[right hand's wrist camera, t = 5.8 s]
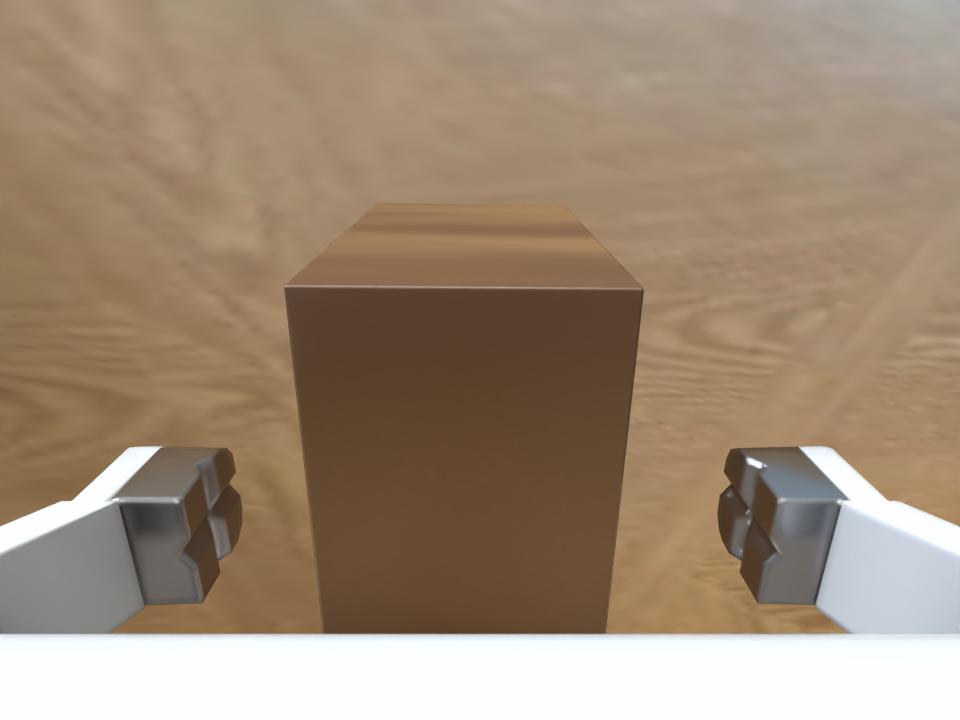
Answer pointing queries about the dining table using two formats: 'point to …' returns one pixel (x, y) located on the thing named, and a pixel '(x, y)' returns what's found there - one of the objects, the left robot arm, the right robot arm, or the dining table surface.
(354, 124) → the dining table surface
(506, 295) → the box
